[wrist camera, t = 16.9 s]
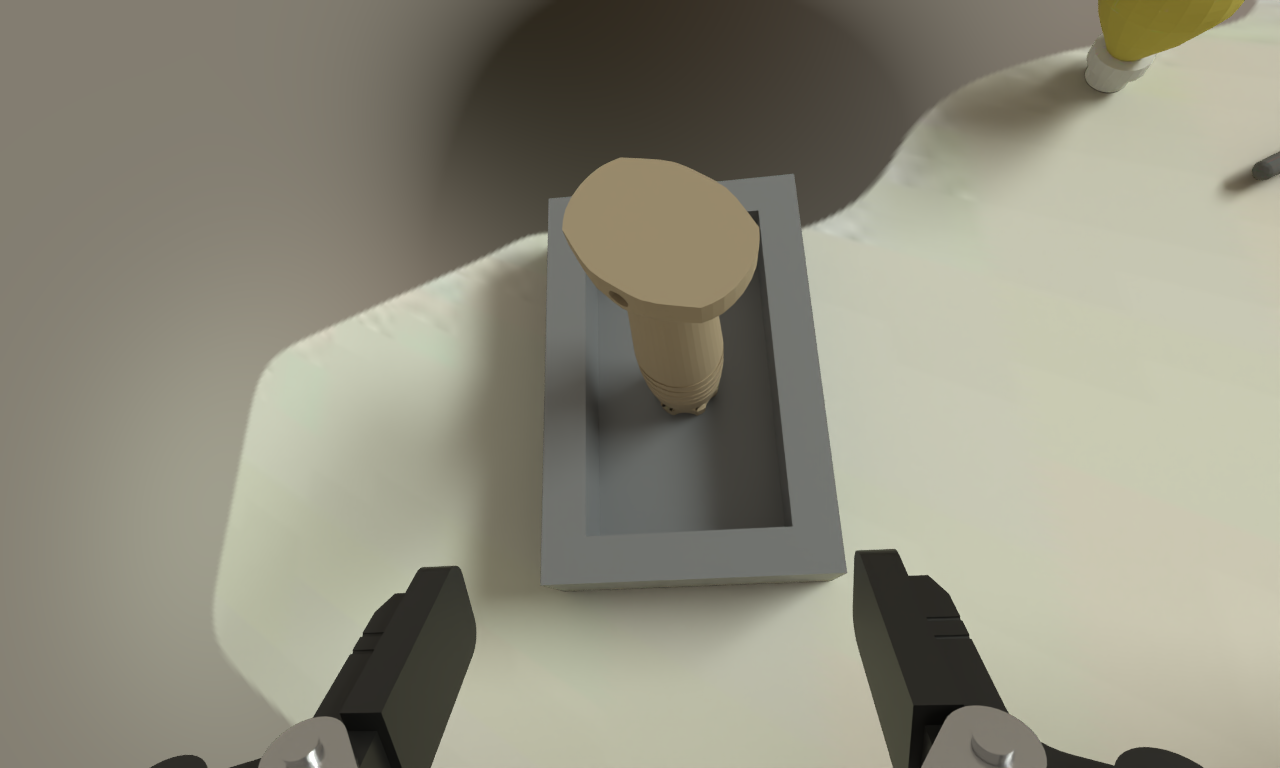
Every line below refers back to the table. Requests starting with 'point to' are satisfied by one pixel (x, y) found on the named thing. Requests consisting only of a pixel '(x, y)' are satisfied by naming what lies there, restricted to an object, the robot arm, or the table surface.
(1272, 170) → the walkie-talkie
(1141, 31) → the light bulb
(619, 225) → the handle
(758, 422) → the gray rectangular tray
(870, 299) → the table surface
